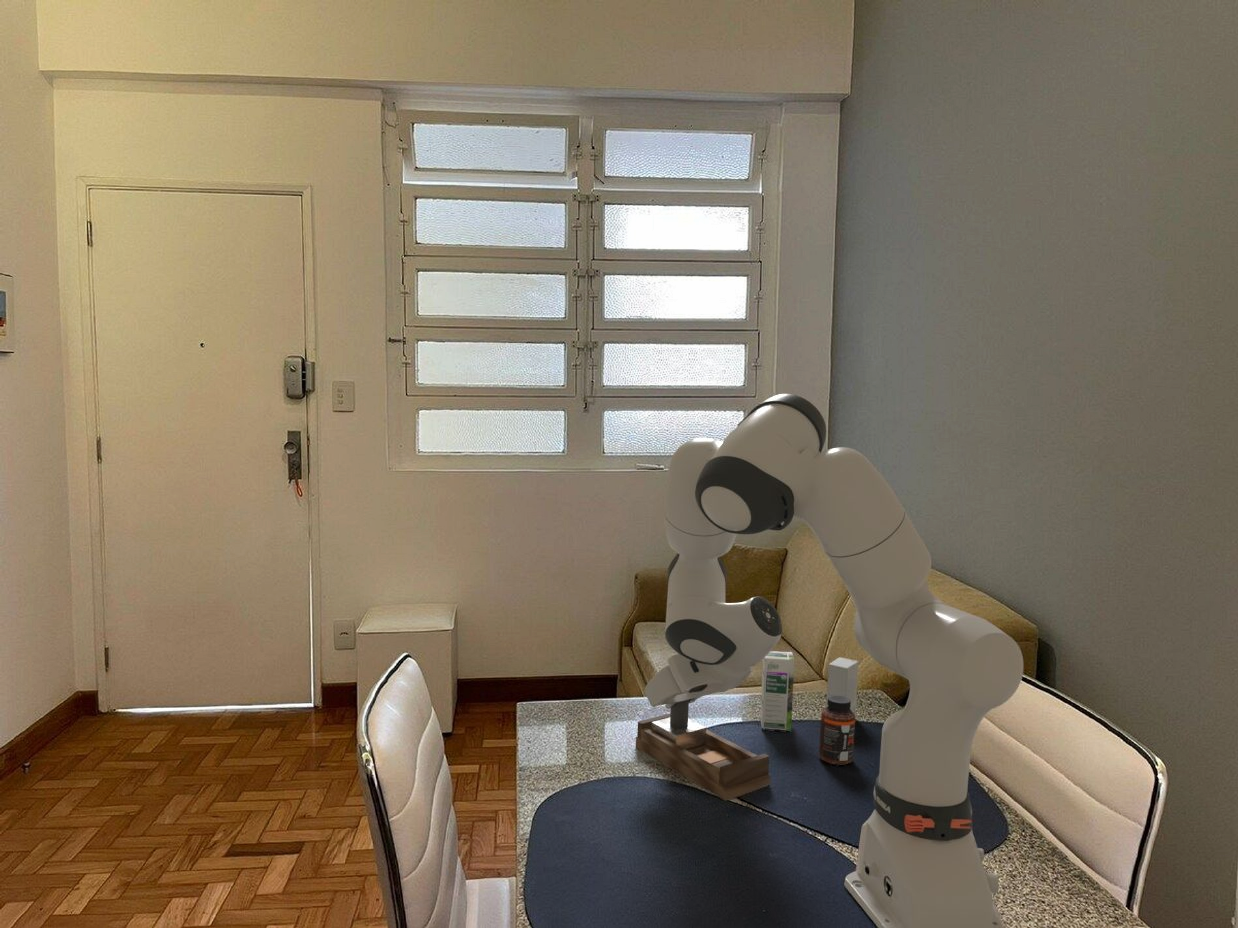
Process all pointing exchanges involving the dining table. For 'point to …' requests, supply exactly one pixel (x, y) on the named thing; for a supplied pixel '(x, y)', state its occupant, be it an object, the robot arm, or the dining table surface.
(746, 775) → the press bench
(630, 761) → the dining table surface
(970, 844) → the robot arm
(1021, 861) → the dining table surface
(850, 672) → the skincare box
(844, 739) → the supplement bottle
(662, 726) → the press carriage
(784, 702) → the syrup box
